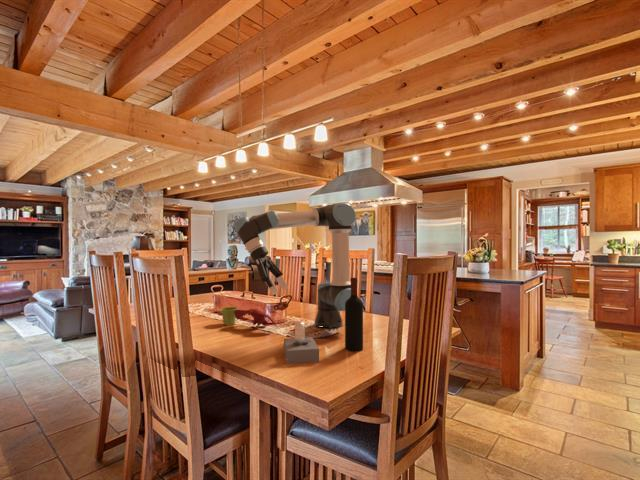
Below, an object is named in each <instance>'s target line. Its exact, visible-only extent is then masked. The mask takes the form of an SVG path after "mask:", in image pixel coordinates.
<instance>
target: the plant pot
mask: <svg viewBox="0 0 640 480" xmlns="http://www.w3.org/2000/svg"><path fill="white" fill-rule="evenodd" d="M219 310H220V311H221V315H222V323H223V326H231V325H232V326H233V325H235V324H236V320H237V318H236V317H235V314H234V312H235V311H236V310H239V307H237V306H225V307H221V308H220V309H219Z"/></svg>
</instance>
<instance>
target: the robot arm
mask: <svg viewBox="0 0 640 480" xmlns="http://www.w3.org/2000/svg"><path fill="white" fill-rule="evenodd" d="M356 217H357V215H356V211H355V209H354V207H353V206H352V205H351V204H350V203H348V202H336V203H332V204H328V205H324V206H320V207H315V208H312V209H311V210H302V211H291V212H290V211H289V212H281V213H280V212H278V213H276V212H275V211H274V210H269V211H266V212H264V213H261V214H258V215H252V216H250V217H248V216H242V217H240V218H238V219H237V220H235V222H234V223H233V227H234V229H235V232H236V235H238V237H239V239H240V240H241V242H242V244H243V246H244V247H245V250H246V251H247V252H248V253H249V255H250V257H251V259H252V261H253V262H254V264H255V266H256V268H257V272H258V273H259V277H260V280H261V282H262V283H266V286H267V287H268V289H269V291H270V292H271V294H272V296H274V295H277V294H278V293H280V291H279V290H278V288H277V286H276V284H275V282H274V281H273V278H271V277H270V274H269V272H270V273H271V274H272V275H273V276H274V277H275V279H276V281H277V283H278V285H279V286H280V288H281V289H282V291H283V292H284V291H286V290H288V289H289V286H288V284H287V283H286V281H285V279H284V277H283V273H284V272H282V271H281V270H280V269H279V268H278V266H277V265H276V263H275V262H274V261H273V260H272V258H271V257H270V256H269V257H268V256H267V255H268V254H269V251H268V249H267V247H266V246H264V243H263V241H262V239H261V237H260V236H259V235H261V234H262V233H264V232H266V231H269V230H275V229H277V230H278V229H287V228H295V227H296V228H297V227H305V226H314V227H328V231H329V232H330V233H331V253H332V254H331V255H332V256H331V258H332V261H331V262H332V263H331V264H332V280H331V282H321V283H318V285H317V313H316V316H315V318H314V326H315V325H316V326H315V327H317V326H323V327H336V328H335V329H337V328H341V327H342V326H343V319H342V318H343V317H342V316H341V312H345V302H346V301H347V300H348V299H349V298H350V296H351V277H350V275H351V274H350V233H351V231H352V225H353V224H354V222H355V221H356Z"/></svg>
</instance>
